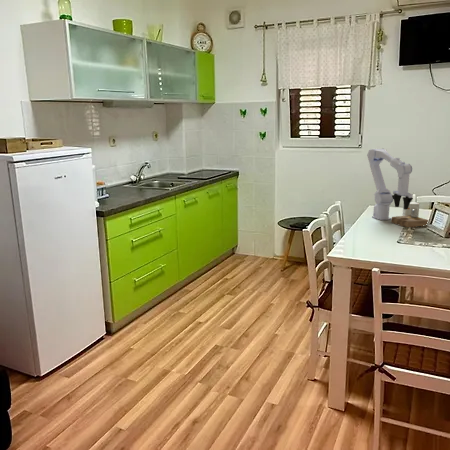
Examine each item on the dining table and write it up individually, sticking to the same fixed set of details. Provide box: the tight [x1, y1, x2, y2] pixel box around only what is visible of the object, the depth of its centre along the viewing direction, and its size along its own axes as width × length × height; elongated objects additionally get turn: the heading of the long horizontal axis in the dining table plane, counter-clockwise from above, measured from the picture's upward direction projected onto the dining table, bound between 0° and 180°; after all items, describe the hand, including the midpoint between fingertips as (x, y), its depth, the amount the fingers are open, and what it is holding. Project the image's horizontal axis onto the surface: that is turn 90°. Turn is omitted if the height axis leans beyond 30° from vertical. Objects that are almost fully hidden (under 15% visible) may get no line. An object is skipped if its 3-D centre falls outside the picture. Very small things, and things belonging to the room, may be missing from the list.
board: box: [390, 215, 429, 229], centre depth 255 cm, size 14×14×4 cm
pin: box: [411, 209, 418, 219], centre depth 255 cm, size 3×3×8 cm
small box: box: [402, 201, 420, 217], centre depth 266 cm, size 8×6×10 cm
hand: (401, 208), depth 255 cm, fingers open, 7 cm apart
